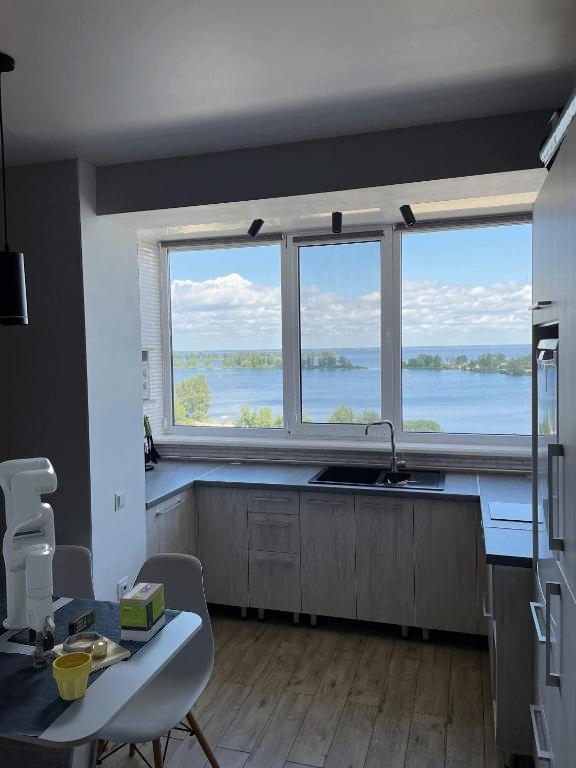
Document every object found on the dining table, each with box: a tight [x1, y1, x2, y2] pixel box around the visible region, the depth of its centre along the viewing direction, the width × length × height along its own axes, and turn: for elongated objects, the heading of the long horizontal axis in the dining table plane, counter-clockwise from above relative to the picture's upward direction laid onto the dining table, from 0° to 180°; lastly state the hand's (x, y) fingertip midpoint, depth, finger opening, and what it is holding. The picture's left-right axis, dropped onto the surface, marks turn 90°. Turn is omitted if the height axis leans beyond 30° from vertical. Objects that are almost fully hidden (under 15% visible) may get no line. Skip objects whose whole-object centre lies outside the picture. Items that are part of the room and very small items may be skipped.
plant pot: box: [52, 652, 92, 701], centre depth 169 cm, size 10×10×10 cm
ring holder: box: [63, 631, 104, 653], centre depth 195 cm, size 12×12×2 cm
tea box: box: [119, 582, 166, 643], centre depth 208 cm, size 15×10×15 cm
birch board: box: [50, 635, 131, 674], centre depth 192 cm, size 22×16×2 cm
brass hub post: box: [91, 640, 108, 660], centre depth 188 cm, size 5×5×4 cm
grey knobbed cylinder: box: [30, 631, 52, 669], centre depth 186 cm, size 6×6×12 cm
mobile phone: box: [68, 608, 97, 636], centre depth 213 cm, size 5×3×15 cm
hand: (41, 645), depth 186 cm, fingers open, 9 cm apart
